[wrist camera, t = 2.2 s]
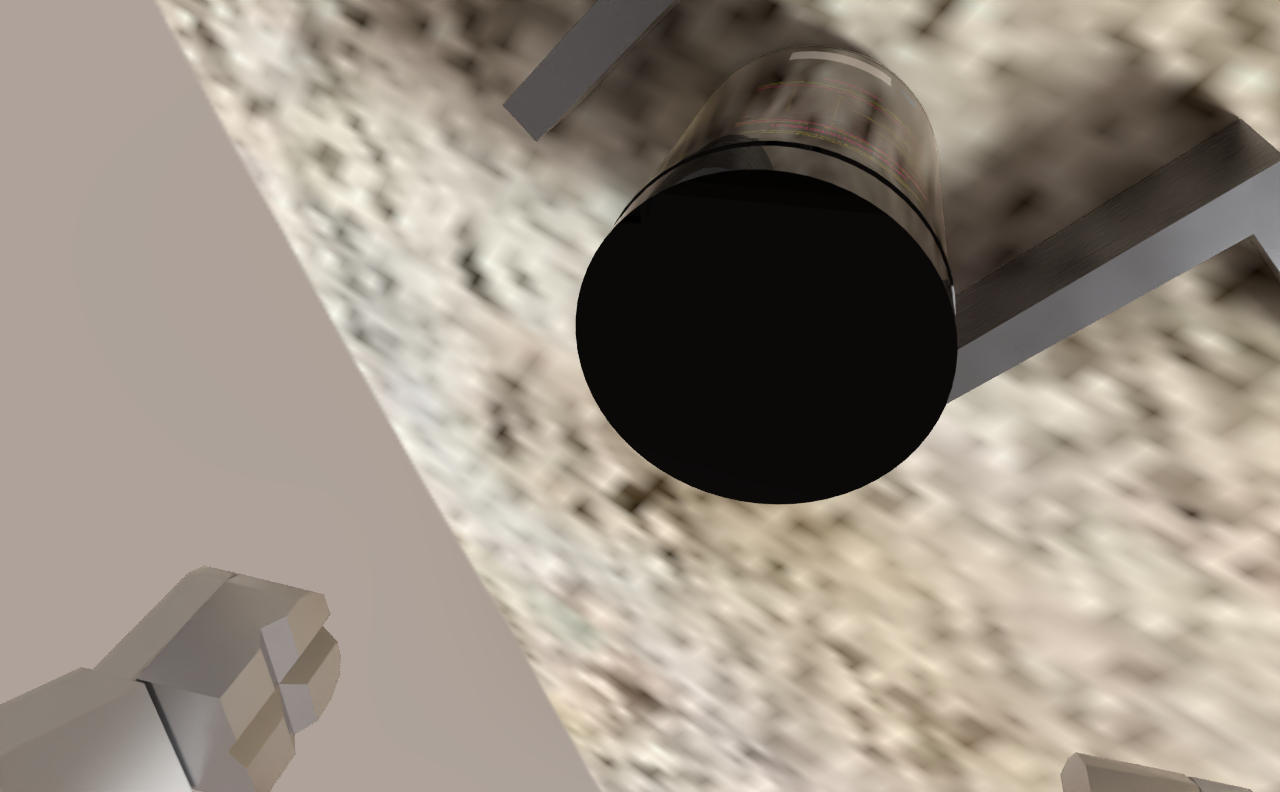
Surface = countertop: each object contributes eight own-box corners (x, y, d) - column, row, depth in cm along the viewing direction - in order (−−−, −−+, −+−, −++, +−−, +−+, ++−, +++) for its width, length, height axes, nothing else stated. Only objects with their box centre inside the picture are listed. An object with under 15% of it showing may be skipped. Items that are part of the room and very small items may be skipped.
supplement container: (676, 259, 26) (568, 465, 18) (701, 20, 22) (579, 137, 14) (904, 299, 25) (904, 538, 17) (970, 55, 21) (1014, 205, 13)
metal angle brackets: (543, 77, 24) (502, 105, 22) (1761, -1241, 11) (1999, -1541, 9) (959, 538, 29) (964, 603, 27) (2152, -5, 16) (2375, 25, 14)
